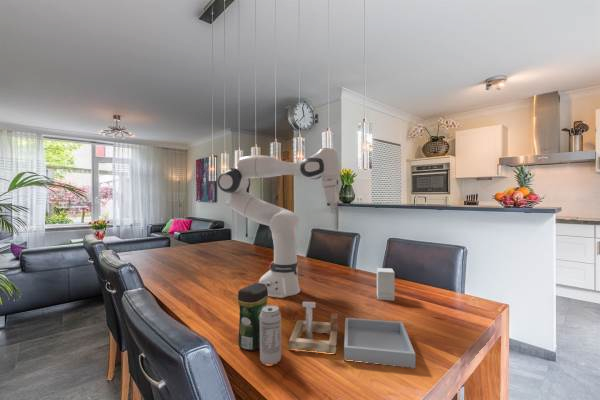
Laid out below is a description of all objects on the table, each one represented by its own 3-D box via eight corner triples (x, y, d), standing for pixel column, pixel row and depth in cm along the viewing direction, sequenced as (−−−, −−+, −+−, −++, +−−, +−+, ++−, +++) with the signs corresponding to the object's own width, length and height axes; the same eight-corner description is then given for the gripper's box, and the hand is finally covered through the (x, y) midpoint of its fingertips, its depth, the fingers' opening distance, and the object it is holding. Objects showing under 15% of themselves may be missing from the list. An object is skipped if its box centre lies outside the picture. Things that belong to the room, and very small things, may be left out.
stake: (302, 345, 86) (302, 303, 86) (303, 342, 88) (303, 301, 88) (315, 346, 85) (315, 304, 85) (315, 343, 87) (315, 301, 87)
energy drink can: (281, 354, 81) (281, 304, 81) (280, 367, 75) (280, 312, 75) (261, 355, 81) (260, 304, 81) (258, 367, 75) (258, 313, 75)
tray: (344, 361, 78) (344, 347, 78) (345, 329, 96) (345, 317, 96) (415, 368, 74) (415, 353, 74) (402, 333, 93) (402, 322, 93)
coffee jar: (252, 333, 93) (252, 279, 93) (272, 339, 90) (272, 282, 89) (233, 347, 85) (232, 287, 85) (254, 354, 81) (253, 292, 81)
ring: (289, 350, 83) (288, 327, 83) (297, 328, 97) (297, 308, 97) (335, 355, 81) (335, 331, 81) (337, 331, 94) (337, 311, 94)
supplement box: (394, 301, 122) (395, 272, 122) (377, 299, 123) (377, 271, 123) (392, 295, 129) (392, 268, 129) (376, 294, 131) (376, 267, 130)
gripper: (327, 183, 140) (330, 211, 140) (321, 182, 120) (325, 214, 120) (340, 182, 138) (343, 209, 138) (336, 181, 118) (339, 213, 119)
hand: (334, 212), depth 129 cm, fingers open, 8 cm apart
